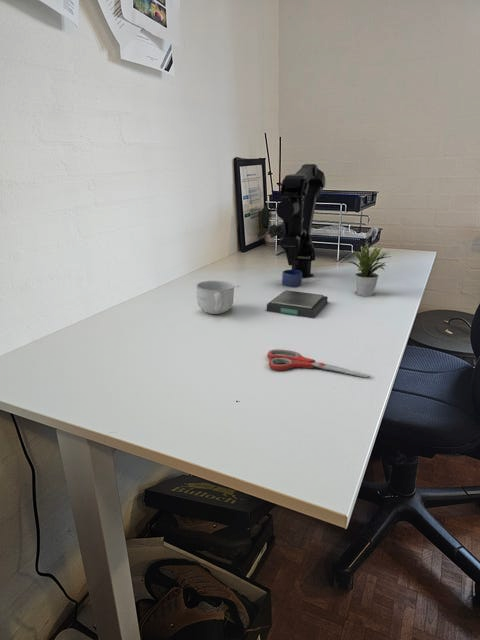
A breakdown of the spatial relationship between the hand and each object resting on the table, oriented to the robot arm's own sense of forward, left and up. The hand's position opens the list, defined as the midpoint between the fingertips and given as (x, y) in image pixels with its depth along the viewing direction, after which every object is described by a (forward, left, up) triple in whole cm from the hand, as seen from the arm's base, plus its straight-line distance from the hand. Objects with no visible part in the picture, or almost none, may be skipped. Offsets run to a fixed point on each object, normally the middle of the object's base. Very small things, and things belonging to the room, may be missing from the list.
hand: (292, 262), depth 137 cm
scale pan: (+12, +20, -6) cm, 24 cm away
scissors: (+31, +52, -8) cm, 61 cm away
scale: (+12, +20, -8) cm, 25 cm away
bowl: (0, 0, -8) cm, 8 cm away
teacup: (+35, +12, -8) cm, 38 cm away
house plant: (-13, +22, -8) cm, 27 cm away
